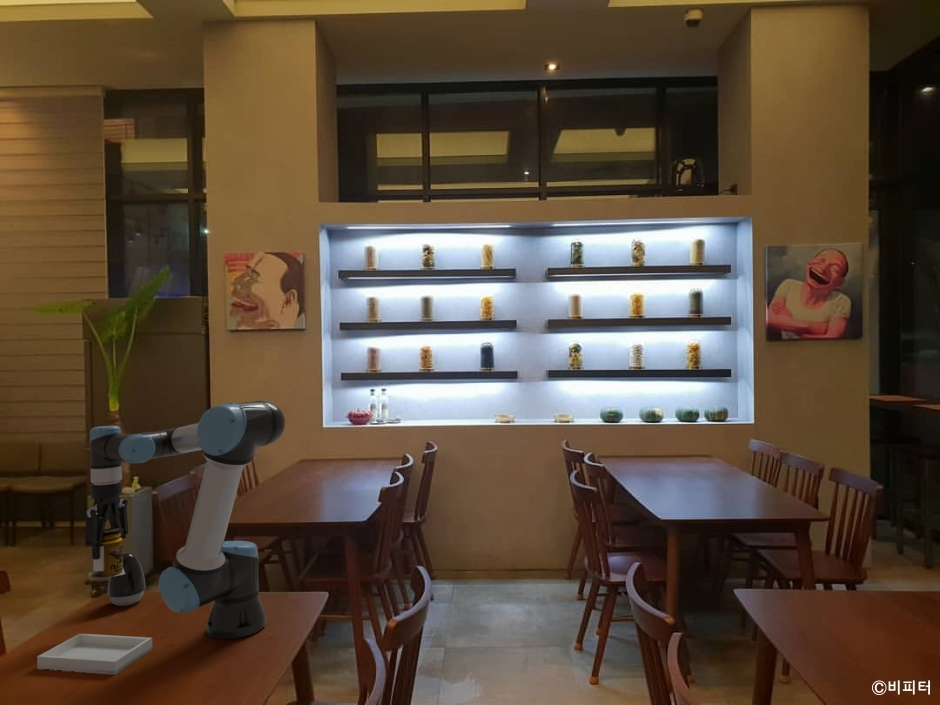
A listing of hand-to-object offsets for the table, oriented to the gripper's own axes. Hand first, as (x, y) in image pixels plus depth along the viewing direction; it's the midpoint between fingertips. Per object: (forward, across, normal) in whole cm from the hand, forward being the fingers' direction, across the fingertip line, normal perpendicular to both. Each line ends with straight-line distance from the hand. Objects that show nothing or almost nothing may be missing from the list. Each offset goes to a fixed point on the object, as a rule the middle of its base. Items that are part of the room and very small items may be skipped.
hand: (108, 566), depth 178 cm
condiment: (+2, 0, 0) cm, 2 cm away
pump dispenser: (+17, -17, -8) cm, 25 cm away
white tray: (+17, +18, +11) cm, 27 cm away
